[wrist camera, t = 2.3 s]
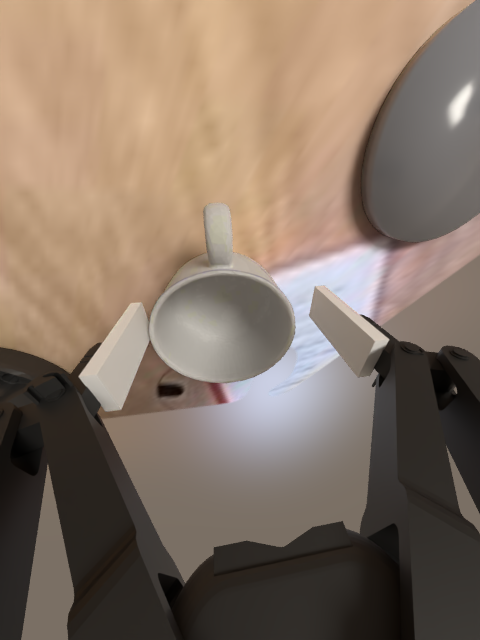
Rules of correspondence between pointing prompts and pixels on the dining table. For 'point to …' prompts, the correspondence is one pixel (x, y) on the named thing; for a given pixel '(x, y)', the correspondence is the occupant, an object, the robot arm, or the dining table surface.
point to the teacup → (221, 312)
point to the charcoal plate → (429, 139)
